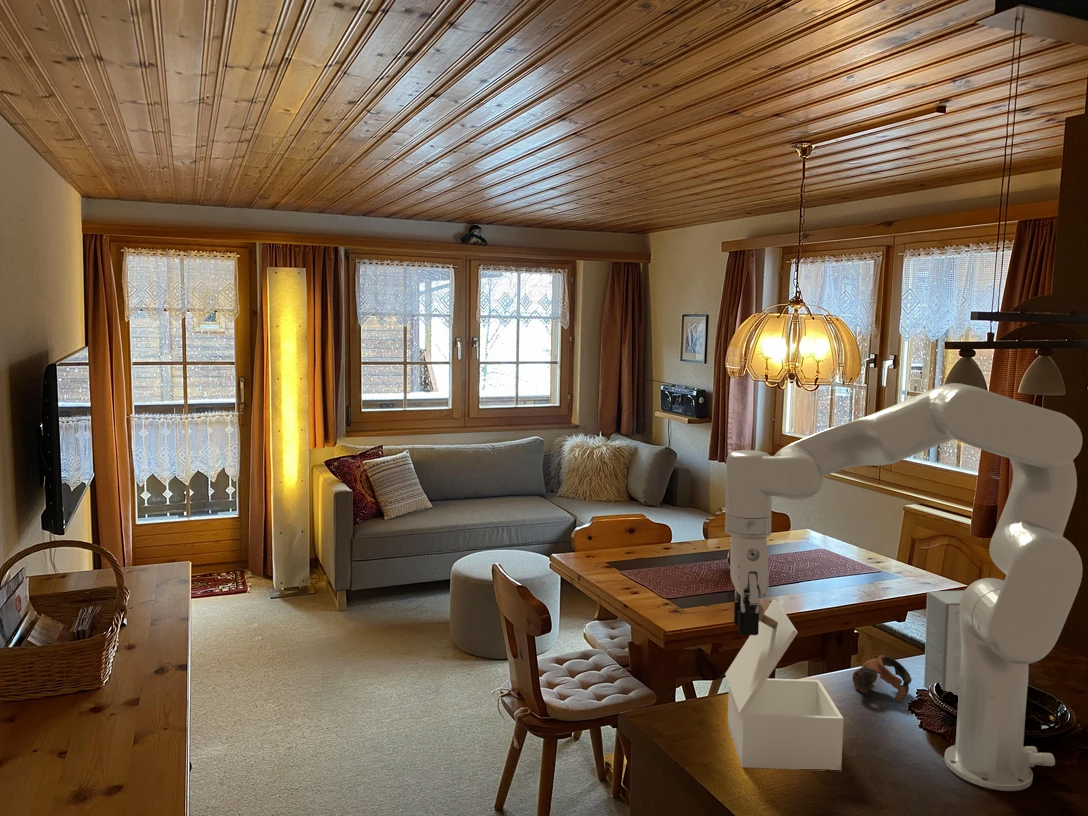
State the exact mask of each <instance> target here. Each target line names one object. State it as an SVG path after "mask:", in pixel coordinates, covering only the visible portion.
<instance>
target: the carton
mask: <svg viewBox="0 0 1088 816" xmlns="http://www.w3.org/2000/svg"><path fill="white" fill-rule="evenodd" d="M727 700H728V707H727V709H728V710H727V726H728V730H729V733H730V736H731V739H732V742H733V744H734V747H735V750H736V754H737V757H738V760H739V763H740V766H741V768H749V769H750V768H751V769H772V770H773V769H774V770H775V769H778V770H799V769H829V770H830V769H831V770H841V771H842V760H843V738H844V737H843V735H844V717H843V715H842V714H841V713H840V710H839V709H838V708H837V706H836V705H835V703H834V701H833V699H832V698H831V696H830V695H829V693H828V691H827V689H825V687H824V685H823V684H822V682H821V681H820V679H795V678H794V679H792V678H768V679H767V680H766V682H765V683H764V685H763V686H762V688H761V689H760V691H759V692H758V694H757V695H756V697H755V698H754V700H753V701H752V703H751V705H750V706H749V708H748V709H747V711H746V712H745V714H744V715H743V714H741V713H739V710H738V708H737V705H736V702H735V700H734V697H733V694H732V691H731V689H730V686H729V685H728V699H727ZM786 768H787V769H786Z"/></svg>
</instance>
